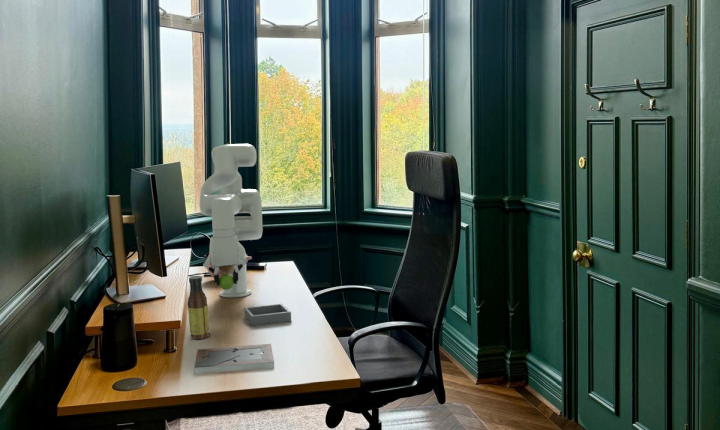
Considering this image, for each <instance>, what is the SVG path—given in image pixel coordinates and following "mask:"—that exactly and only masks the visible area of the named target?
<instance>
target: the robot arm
mask: <svg viewBox="0 0 720 430" xmlns="http://www.w3.org/2000/svg"><path fill="white" fill-rule="evenodd" d="M257 157H258V156H257V150H256V148H255V146H254V145H252V144H249V143H234V144H233V143H231V144H223V145H220V146H219V145H218V146H215V147H213V149H212V150H211V158H212V161H213V165H214V172H213V174H212V175H211V176H209V177H208V178H207V179H206V180H205V181H204V182H203V184H202V186H201V189H200V194H199V211H200V212H201V214H202V215H204V216H205V217H207V216H209V217H210V216H211V222H212V223H211V225H212V236H211V237H210V241H209V254H210V257H209V258H208V259H207V258H206V261H205V262H203V264H202V265H203V267H204V268H205V269H206V270H207V269H208V270H209V271H211V272H212V273H213V274H214V278H213V282H214V284H215V285H216V286H217V287H220V286H219V275H218V269H219V266H229V265H235V266H234V270H233V272H232V273H231V274H229V275H231V276H232V277H233V279H234V285H233V286H232V288H230V289H228V290H224V289H222V290H220V291H219V296H220V297H223V298H242V297H247V296H249V295H251V294H252V290H251V289H250V288H248V277H247V276H248V275H247V263H248V262H247V260H246V254H247V253H246V250H245V249H246V248H244V246H243V245H242V244H241V243H240V242H239V241H248V240H249V241H253V240H259V239H261V238H262V236H263V231H264V229H263V209H262V208H263V206H262V196H261V194H260V191H259V190H257V189H253V188H252V189H251V188H247V189H246V188H245V189H244V188H243V178H242V175H241V174H240V172H239V171H238V169H239V168H241V167H243V168H244V167H254V166H255V165H256V164H257V163H256V162H257ZM218 191H220V193H218V194H217V193H216V194H214V193H215V192H218ZM238 214H250V215H249V216H246V215H245V216H235V215H238ZM209 263H211V264H212V266H214V268H212V267H210V266H209ZM208 270H207V271H208Z"/></svg>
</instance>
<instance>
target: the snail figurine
mask: <svg viewBox="0 0 720 430" xmlns="http://www.w3.org/2000/svg"><path fill="white" fill-rule="evenodd" d="M234 266H235V265H229V266H219V269H220V270H221V271H219V273H220V274H222V276H221V277H220V278H219V286H218V287H220V289H222V290H223V289H224V290H228V289H230V288H232V286H233V285H234V279H233V277H232V276H231V275H229V274H231V273H232V272H233V270H234Z"/></svg>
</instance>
